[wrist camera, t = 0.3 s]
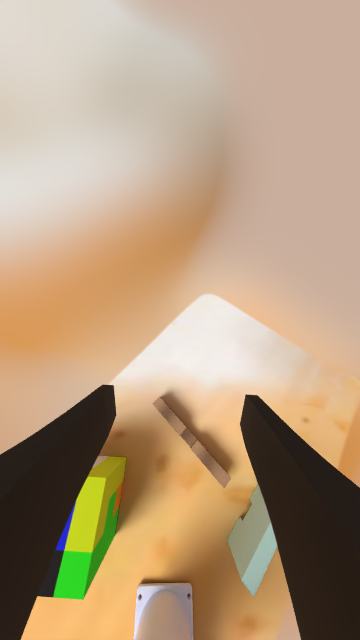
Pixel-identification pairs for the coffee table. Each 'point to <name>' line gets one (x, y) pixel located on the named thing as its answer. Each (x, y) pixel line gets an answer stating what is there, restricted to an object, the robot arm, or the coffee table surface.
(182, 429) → the walnut rail
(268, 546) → the teal plate
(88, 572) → the puzzle toy
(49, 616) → the coffee table surface
